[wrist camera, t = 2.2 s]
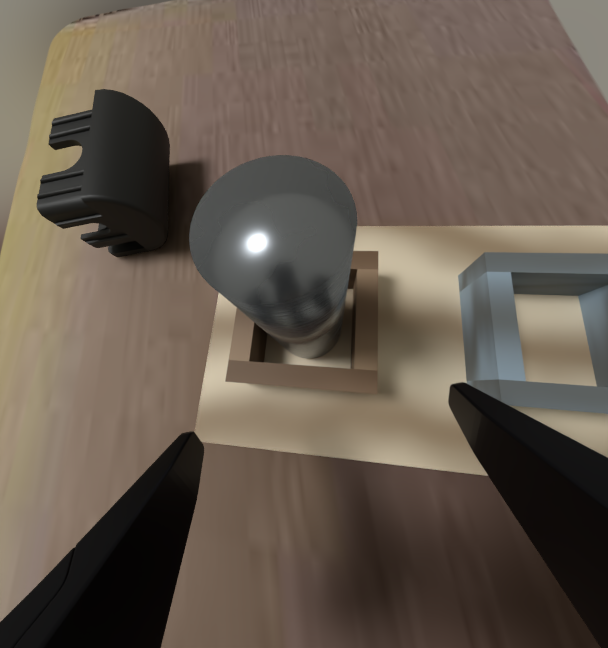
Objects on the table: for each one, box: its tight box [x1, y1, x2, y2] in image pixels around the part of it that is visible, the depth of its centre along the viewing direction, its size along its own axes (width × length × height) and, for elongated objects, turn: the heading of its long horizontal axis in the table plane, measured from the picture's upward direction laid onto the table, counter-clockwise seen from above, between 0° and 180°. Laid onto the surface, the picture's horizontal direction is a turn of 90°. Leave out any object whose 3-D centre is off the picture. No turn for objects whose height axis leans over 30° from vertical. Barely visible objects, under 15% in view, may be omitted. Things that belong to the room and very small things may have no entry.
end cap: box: [37, 89, 170, 257], centre depth 20 cm, size 10×7×7 cm
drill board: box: [194, 226, 608, 476], centre depth 15 cm, size 16×28×4 cm, turn 86°
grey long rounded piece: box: [189, 155, 357, 359], centre depth 12 cm, size 4×4×11 cm
